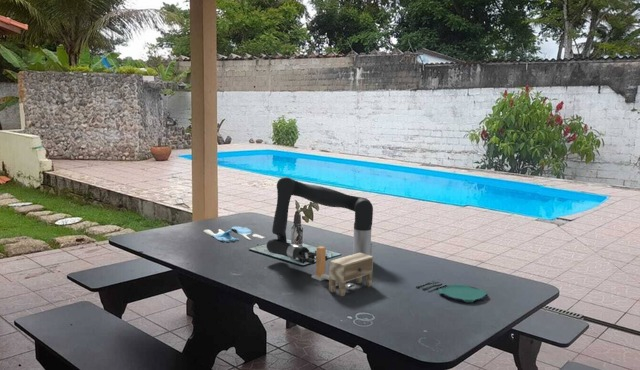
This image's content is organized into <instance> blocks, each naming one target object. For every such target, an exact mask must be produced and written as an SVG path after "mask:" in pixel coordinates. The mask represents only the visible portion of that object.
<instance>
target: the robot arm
mask: <svg viewBox="0 0 640 370" xmlns="http://www.w3.org/2000/svg"><path fill="white" fill-rule="evenodd" d="M276 189H277V190H276V191H277V192H276V193H277V197H276V199H277V201H276V206H275V207H276V208H275V212H274V216H273V222H272V229H271V230H272V234H273V235H276V237H277V238H272V239H269V240H268V241H267V242H266V250H267V251H268V252H269V253H270V254H275V255H281V256H285V257H287V258H289V259H291V260H294V261H296V262H298V263H301V264H310V265H316V264H315V261H316V256H317V250H314V251H310V249H309V248H308V247H306V246H302V245H300V244H299V245H298V244H294V243H291V242H288V240H287V233H286V231H287V225H288V215H289V208H290V207H289V206H290V201H291V198H292V196H295V197H300V198H303V199H305V200H308V201H309V202H311V203H315V204H317V205H321V206H325V207H330V208H341V209H346V210H349V211H352V212H354V223H353V243H352V244H353V247H352V255H353V254H356V253H363V254H366V255H370V256H373V243H372V227H373V217H374V206H373V204H372V203H371V201H370V200H369V199H368V198H366V197H361V196H355V195H350V194H346V193H344V192H341V191H338V190H334V189H332V188H329V187H326V186H325V187H324V186H321V185H315V184H308V183H303V182H301V181H298V180H295V179H293V178H290V177H288V176H283V177H281V178H279V179H278V181H277V182H276ZM326 261H328V256H327V255H325V262H326Z"/></svg>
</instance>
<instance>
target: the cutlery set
mask: <svg viewBox="0 0 640 370" xmlns="http://www.w3.org/2000/svg"><path fill="white" fill-rule="evenodd" d="M431 281H432V280H430V281H426V282H425V283H423V284H419V285H416V286H415V289H418V287H419V288H421V286H422V288H421V290H423V291H424V290H426V289H428V288H432V287H433V288H432V289H430V290H428V291H429V292H431V291H433V290H438V295H440V294H441V295H442V296H445V297H447V298H449V299H451V300H455V301H463V302H465V303H473V302H478V301H482V300H484V299H485V298H487V297H488V295H489V293H487V291H485V290H484V289H480V288H477V287H474V286H470V285H466V284H450V285H447V283H445V284H442V282H441V281H436V282H435V281H434V283H435V284H438V286H434V285H435V284H434V283H433V281H432V282H431ZM439 283H441V285H440V284H439ZM423 285H424V286H425V287H424V286H423ZM445 285H446V286H445ZM443 286H444V287H443ZM440 287H441V288H440ZM437 288H438V289H437Z"/></svg>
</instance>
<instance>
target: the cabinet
mask: <svg viewBox="0 0 640 370" xmlns="http://www.w3.org/2000/svg"><path fill="white" fill-rule="evenodd" d="M373 265H374V256H373V255H372V256H370V255H366V254H363V253H356V254H353V253H352V254H349V255H346V256H342V257H340V258H336V259H335V258H334V259H332V260H329V269H328V270H329V273H328V275H329V280H328V292H330V293H335V292H336V286H335V281H338V282H339V285H338V296H340V297H344V296H346V289H345V284H346V283H347V282H350V281H353V280H355V283H356V284H361V283H363V277H365V287H369V288H370V287H372V286H373V269H374V267H373ZM345 282H346V283H345Z"/></svg>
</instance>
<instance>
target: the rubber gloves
mask: <svg viewBox="0 0 640 370" xmlns="http://www.w3.org/2000/svg"><path fill="white" fill-rule="evenodd" d="M232 230H236V234H238V235H240V236H242V237H243V238H244V239H246V240H248V241H252V239H251V238H250V237H248V235H251V234H252V235H251V236H252V237H255V238H259V239H266V236H263V235H260V234H257V233H253V231H252V230H251V229H249V228H248V227H246V226H245V227H243V226H234V225H233V226H232V227H230V229H229V230H226V231H224V230H222V229H218V232H216V233H214V232H213V231H212V230H211V229H204V230H203V233H205V234H207V235H208V236H211V237H213V238H214V240H217V241H220V242H224V243H225V242H226V243H229V242H238V241H240V239H239V238H238V237H237V238H235V237H233V236H232V235H231V233H232V232H233V231H232Z"/></svg>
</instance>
